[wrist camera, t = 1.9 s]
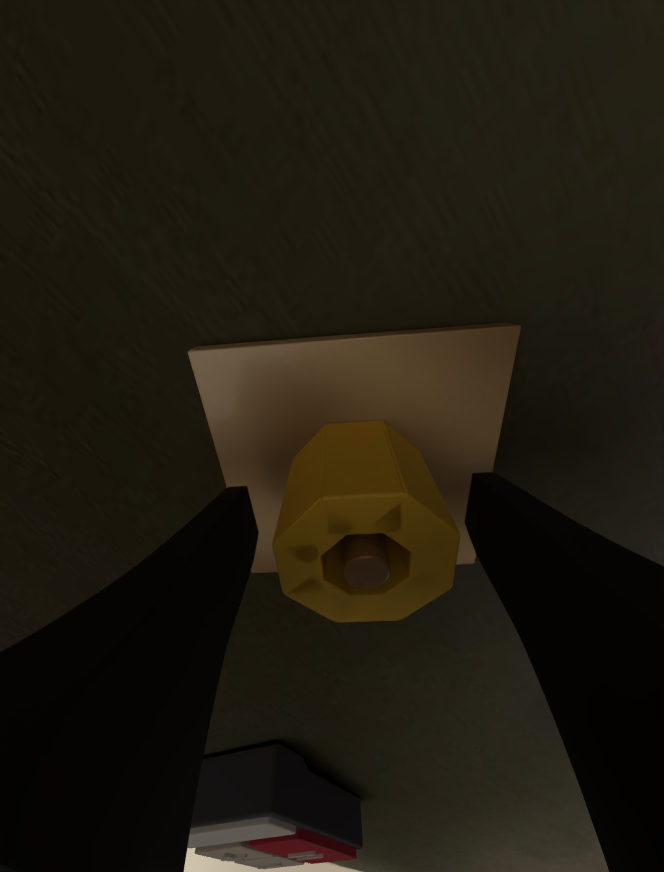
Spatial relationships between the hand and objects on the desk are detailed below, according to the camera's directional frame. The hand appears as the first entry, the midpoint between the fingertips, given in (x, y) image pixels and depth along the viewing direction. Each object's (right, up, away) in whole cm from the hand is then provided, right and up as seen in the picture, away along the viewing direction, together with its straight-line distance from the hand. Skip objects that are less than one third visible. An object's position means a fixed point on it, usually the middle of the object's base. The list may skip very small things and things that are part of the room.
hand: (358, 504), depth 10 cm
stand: (0, +1, +2) cm, 2 cm away
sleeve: (0, +1, +1) cm, 2 cm away
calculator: (-6, -30, +18) cm, 35 cm away
